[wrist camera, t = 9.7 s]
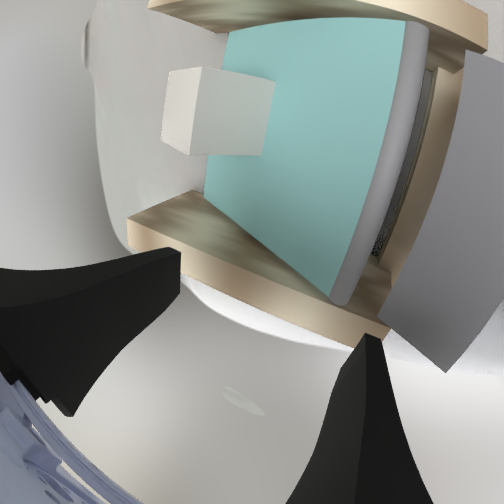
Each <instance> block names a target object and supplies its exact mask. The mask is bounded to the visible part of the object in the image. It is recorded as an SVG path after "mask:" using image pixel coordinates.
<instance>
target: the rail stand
mask: <svg viewBox="0 0 504 504" xmlns="http://www.w3.org/2000/svg"><path fill="white" fill-rule="evenodd" d="M147 9H151V10H154V11H157V12H161V13H164V14H167V15H170V16H173V17H176V18H179V19H182V20H184V21H187V22H190V23H193V24H195V25H198V26H200V27H203V28H205V29H207V30H210V31H212V32H214V33H227V32H232V31H236V30H240V29H245V28H250V27H255V26H260V25H266V24H272V23H278V22H286V21H294V20H304V19H316V18H343V17H352V18H378V19H390V20H400V21H415V22H418V23H421V24H423V25H424V26H426V27H427V28H428V29H429V41H428V50H427V58H426V65H425V69H427V70H430V71H432V72H433V78H432V84H431V89H430V94H429V100H428V104H427V109H426V114H425V118H424V122H423V127H422V131H421V134H420V138H419V142H418V146H417V149H416V153H415V156H414V160H413V163H412V166H411V170H410V173H409V176H408V179H407V182H406V185H405V188H404V191H403V194H402V197H401V200H400V203H399V205H398V208H397V211H396V214H395V216H394V219H393V221H392V224H391V227H390V229H389V232H388V234H387V237H386V239H385V241H384V244H383V246H382V249H381V251H380V253H379V255H378V257H377V256H375V255H372V254H370V256H369V258H368V261H367V263H366V265H365V268H364V270H363V272H362V274H361V277H360V279H359V281H358V283H357V285H356V287H355V290H354V292H353V294H352V296H351V298H350V300H349V302H348V304H347V305H344V306H341V305H337V304H335V303H333V302H332V301H331V300H330V299H329V297H328V296H326V295H325V294H324V293H323V292H322V291H320V290H319V289H318V288H317V287H315V286H314V285H313V284H312V283H310V282H309V281H308V280H307V279H306V278H304V277H303V276H302V275H301V274H299V273H298V272H297V271H296V270H294V269H293V268H292V267H291V266H289V265H288V264H287V263H286V262H284V261H283V260H282V259H281V258H279V257H278V256H277V255H276V254H274V253H273V252H272V251H271V250H269V249H268V248H267V247H266V246H264V245H263V244H262V243H261V242H259V241H258V240H257V239H256V238H254V237H253V236H252V235H251V234H249V233H248V232H247V231H246V230H244V229H243V228H242V227H241V226H239V225H238V224H237V223H235V222H234V221H233V220H232V219H230V218H229V217H228V216H227V215H225V214H224V213H223V212H222V211H220V210H219V209H218V208H216V207H215V206H214V205H213V204H211V203H210V202H209V201H208V200H206V199H205V198H204V197H203V195H204V194H201V193H198V192H195V191H192V190H191V191H189V192H186V193H184V194H181V195H179V196H176V197H174V198H172V199H169V200H167V201H164V202H162V203H160V204H157V205H155V206H153V207H150V208H148V209H146V210H144V211H141V212H139V213H137V214H135V215H132V216H130V217H128V218H127V235H128V246H130V247H132V248H134V249H136V250H138V251H139V252H141V253H142V252H146V251H150V250H154V249H159V248H164V247H171V248H173V249H176V250H178V251H180V252H181V273H183V274H185V275H187V276H189V277H191V278H193V279H195V280H197V281H199V282H201V283H203V284H205V285H208V286H210V287H212V288H214V289H216V290H218V291H220V292H222V293H225V294H227V295H229V296H231V297H233V298H235V299H238V300H240V301H242V302H244V303H246V304H249V305H251V306H253V307H255V308H258V309H260V310H262V311H264V312H267V313H269V314H271V315H274V316H276V317H278V318H281V319H283V320H285V321H288V322H290V323H292V324H295V325H297V326H300V327H302V328H304V329H307V330H309V331H312V332H314V333H317V334H319V335H322V336H324V337H327V338H329V339H332V340H334V341H337V342H339V343H342V344H344V345H347V346H350V347H352V348H355V347H356V346H357V344H358V343H359V341H360V340H361V338H362V337H363V335H364V334H365V333H367V334H370V335H372V336H375V337H377V338H380V339H381V341H383V340H384V338H385V337H386V335H387V334H388V332H389V331H390V329H391V328H390V327H389V326H388V325H387V324H385V323H384V322H383V321H382V320H380V319H379V318H378V317H377V315H378V313H379V311H380V310H381V308H382V306H383V304H384V302H385V301H386V299H387V297H388V295H389V293H390V292H391V290H392V288H393V286H394V284H395V282H396V280H397V278H398V276H399V274H400V272H401V270H402V268H403V266H404V264H405V262H406V260H407V258H408V256H409V254H410V251H411V249H412V247H413V245H414V243H415V240H416V238H417V236H418V233H419V231H420V229H421V226H422V224H423V221H424V219H425V217H426V214H427V211H428V209H429V206H430V204H431V201H432V198H433V195H434V193H435V190H436V187H437V184H438V181H439V178H440V175H441V172H442V168H443V165H444V162H445V158H446V155H447V151H448V148H449V144H450V140H451V136H452V132H453V128H454V124H455V119H456V115H457V110H458V104H459V99H460V93H461V87H462V80H463V72H464V64H465V53H466V50H469V51H472V52H475V53H478V54H481V55H482V54H483V53H485V52H486V51H487V50H488V16H487V14H486V13H485V12H483V11H481V10H479V9H477V8H475V7H474V6H472V5H470V4H468V3H466V2H464V1H462V0H150V1H149V5H148V8H147Z"/></svg>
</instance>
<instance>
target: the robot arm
mask: <svg viewBox="0 0 504 504" xmlns="http://www.w3.org/2000/svg"><path fill="white" fill-rule="evenodd" d="M180 273H181V252H180V251H178V250H176V249H173V248H171V247H164V248H159V249H154V250H150V251H146V252H142V253H138V254H134V255H130V256H127V257H122V258H119V259H114V260H110V261H106V262H101V263H97V264H92V265H87V266H81V267H74V268H66V269H54V270H31V271H30V270H13V269H4V268H0V504H106V503H104V502H103V501H102V500H100V499H99V498H98V497H96V496H95V495H94V494H93V493H91V492H90V491H89V490H88V489H86V488H85V487H84V486H83V485H81V484H80V483H79V482H78V481H77V480H76V479H75V478H74V477H72V476H71V475H70V474H69V473H68V472H67V471H66V470H65V469H64V468H63V467H62V466H61V465H60V464H61V463H62V460H61V458H62V459H63V460H64V461H65V463H66V464H67V465H68V466H69V467H70V468H71V469H72V470H73V471H74V472H75V473H76V474H77V475H78V476H80V477H81V478H82V479H83V480H84V481H85V482H86V483H87V484H88V485H89V486H90V487H92V488H93V489H94V490H95V491H96V492H97V493H98V494H100V495H101V496H102V497H103V498H105V499H106V500H107V501H108V502H109V503H111V504H144V503H142V502H140V501H139V500H138V499H136V498H135V497H134V496H132V495H131V494H129V493H128V492H127V491H125V490H124V489H123V488H121V487H120V486H119V485H117V484H116V483H115V482H114V481H112V480H111V479H110V478H109V477H108V476H106V475H105V474H104V473H103V472H102V471H100V470H99V469H98V468H97V467H96V466H95V465H94V464H93V463H91V462H90V461H89V460H88V459H87V458H86V457H85V456H84V455H83V454H82V453H81V452H80V451H79V450H78V449H77V448H76V447H75V446H74V445H73V444H72V443H71V442H70V441H69V440H68V439H67V438H66V437H65V436H64V435H63V434H62V433H61V431H60V430H59V429H58V428H57V427H56V426H55V425H54V423H53V422H52V421H51V420H50V419H49V417H48V416H47V415H46V414H45V413H44V412H43V410H42V409H41V408H40V406H39V405H38V404H37V402H36V400H37V399H38V398H39V397H41V398H42V400H43V401H44V402H45V403H48V402H49V401H50V400H52V402H53V403H54V404H55V405H56V406H57V408H58V409H59V410H60V411H61V412H62V413H63V414H64V415H65V416H67V417H73V416H74V414H75V412H76V410H77V409H78V407H79V405H80V404H81V402H82V400H83V399H84V397H85V396H86V394H87V393H88V392H89V390H90V389H91V387H92V386H93V384H94V383H95V382H96V380H97V379H98V377H99V376H100V375H101V374H102V373H103V371H104V370H105V369H106V368H107V366H108V365H109V364H110V363H111V362H112V360H113V359H114V358H115V357H116V356H117V355H118V353H119V352H120V351H121V350H122V349H123V348H124V347H125V346H126V345H127V344H128V343H129V342H130V341H132V340H133V339H134V338H135V337H136V336H137V335H138V334H140V333H141V332H142V331H143V330H144V329H145V328H146V327H147V326H149V325H150V324H151V323H152V322H153V321H154V320H155V319H156V318H157V317H159V316H160V315H161V314H162V313H163V312H164V311H165V310H166V309H167V308H168V306H169V305H170V304H171V303H172V302H173V301H174V300H175V298H176V297H177V296H178V295H179V293H180ZM32 424H33V425H34V427H35V428H36V429H37V430H38V432H39V433H40V434H41V435H42V436H41V435H40V434H39V433H38V432H37V431H35V430H34V429H33V428H32ZM59 456H60V457H61V458H60V457H59ZM286 504H433V502H432V500H431V498H430V496H429V494H428V492H427V489H426V487H425V485H424V483H423V481H422V478H421V476H420V474H419V471H418V469H417V466H416V464H415V461H414V459H413V456H412V454H411V451H410V448H409V445H408V442H407V439H406V436H405V433H404V430H403V427H402V423H401V420H400V417H399V412H398V409H397V405H396V401H395V397H394V393H393V389H392V385H391V380H390V376H389V372H388V367H387V363H386V358H385V354H384V350H383V345H382V341H381V339H380V338H377V337H375V336H372V335H370V334H367V333H365V334H364V335H363V337H362V338H361V340H360V341H359V343H358V344H357V346H356V347H355V349H354V350H353V352H352V353H351V355H350V356H349V357H348V359H347V360H346V362H345V363H344V364H343V366H342V367H341V369H340V372H339V375H338V378H337V380H336V382H335V385H334V388H333V390H332V393H331V397H330V400H329V404H328V408H327V411H326V415H325V418H324V421H323V425H322V428H321V431H320V434H319V438H318V441H317V444H316V446H315V449H314V452H313V454H312V456H311V458H310V461H309V463H308V465H307V467H306V469H305V471H304V473H303V475H302V476H301V478H300V480H299V482H298V484H297V485H296V487H295V489H294V491H293V493H292V494H291V496H290V498H289V499H288V501H287V502H286Z"/></svg>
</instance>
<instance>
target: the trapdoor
mask: <svg viewBox="0 0 504 504" xmlns="http://www.w3.org/2000/svg"><path fill="white" fill-rule="evenodd" d="M428 41H429V29H428V28H427V27H426V26H424V25H423V24H421V23H418V22H415V21H400V20H390V19H378V18H352V17H343V18H316V19H304V20H294V21H286V22H278V23H272V24H266V25H260V26H255V27H250V28H245V29H240V30H236V31H232V32H229V36H228V41H227V45H226V50H225V55H224V61H223V66H222V70H226V71H232V72H237V73H242V74H247V75H251V76H255V77H260V78H264V79H268V80H272V81H275V82H276V84H275V89H274V94H273V99H272V104H271V109H270V114H269V119H268V124H267V129H266V134H265V139H264V144H263V149H262V155H261V156H250V155H208V161H207V169H206V177H205V186H204V195H203V197H204V198H205V199H206V200H208V201H209V202H210V203H211V204H213V205H214V206H215V207H216V208H218V209H219V210H220V211H222V212H223V213H224V214H225V215H227V216H228V217H229V218H230V219H232V220H233V221H234V222H235V223H237V224H238V225H239V226H241V227H242V228H243V229H244V230H246V231H247V232H248V233H249V234H251V235H252V236H253V237H254V238H256V239H257V240H258V241H259V242H261V243H262V244H263V245H264V246H266V247H267V248H268V249H269V250H271V251H272V252H273V253H274V254H276V255H277V256H278V257H279V258H281V259H282V260H283V261H284V262H286V263H287V264H288V265H289V266H291V267H292V268H293V269H294V270H296V271H297V272H298V273H299V274H301V275H302V276H303V277H304V278H306V279H307V280H308V281H309V282H310V283H312V284H313V285H314V286H315V287H317V288H318V289H319V290H320V291H322V292H323V293H324V294H325V295H326V296H328V297H329V299H330V300H331V301H332V302H333V303H335V304H337V305H341V306H344V305H347V304H348V302H349V300H350V298H351V296H352V294H353V292H354V290H355V287H356V285H357V283H358V281H359V279H360V277H361V274H362V272H363V270H364V268H365V265H366V263H367V261H368V258H369V256H370V254H371V251H372V249H373V247H374V244H375V242H376V239H377V237H378V234H379V232H380V229H381V227H382V224H383V221H384V219H385V216H386V213H387V211H388V208H389V205H390V202H391V199H392V196H393V193H394V191H395V188H396V184H397V181H398V178H399V175H400V172H401V169H402V165H403V162H404V159H405V155H406V152H407V148H408V145H409V141H410V137H411V133H412V129H413V125H414V121H415V117H416V112H417V108H418V103H419V98H420V93H421V88H422V83H423V77H424V71H425V65H426V58H427V50H428ZM503 298H504V63H502V62H499V61H497V60H494V59H492V58H489V57H487V56H484V55H481V54H478V53H475V52H472V51H469V50H466V53H465V64H464V72H463V80H462V87H461V93H460V99H459V104H458V110H457V115H456V119H455V124H454V128H453V132H452V136H451V140H450V144H449V148H448V151H447V155H446V158H445V162H444V165H443V168H442V172H441V175H440V178H439V181H438V184H437V187H436V190H435V193H434V195H433V198H432V201H431V204H430V206H429V209H428V211H427V214H426V217H425V219H424V221H423V224H422V226H421V229H420V231H419V233H418V236H417V238H416V240H415V243H414V245H413V247H412V249H411V251H410V254H409V256H408V258H407V260H406V262H405V264H404V266H403V268H402V270H401V272H400V274H399V276H398V278H397V280H396V282H395V284H394V286H393V288H392V290H391V292H390V293H389V295H388V297H387V299H386V301H385V302H384V304H383V306H382V308H381V310H380V311H379V313H378V315H377V317H378V318H379V319H380V320H382V321H383V322H384V323H385V324H387V325H388V326H389V327H390V328H392V329H393V330H394V331H395V332H396V333H398V334H399V335H400V336H401V337H403V338H404V339H405V340H406V341H408V342H409V343H410V344H411V345H412V346H414V347H415V348H416V349H417V350H418V351H420V352H421V353H422V354H423V355H425V356H426V357H427V358H428V359H429V360H431V361H432V362H433V363H434V364H435V365H437V366H438V367H439V368H440V369H441V370H442V371H444V372H445V373H446V372H447V371H448V370H449V369H450V368H451V367H452V366H453V364H454V363H455V362H456V361H457V360H458V359H459V358H460V356H461V355H462V354H463V353H464V352H465V350H466V349H467V348H468V347H469V346H470V344H471V343H472V342H473V341H474V339H475V338H476V337H477V335H478V334H479V333H480V331H481V330H482V329H483V327H484V326H485V325H486V323H487V322H488V320H489V319H490V317H491V316H492V315H493V313H494V312H495V310H496V309H497V307H498V306H499V304H500V302H501V301H502V299H503Z"/></svg>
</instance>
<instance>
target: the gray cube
mask: <svg viewBox="0 0 504 504" xmlns="http://www.w3.org/2000/svg"><path fill="white" fill-rule="evenodd" d="M275 84H276V82H275V81H272V80H268V79H264V78H260V77H255V76H251V75H247V74H242V73H237V72H232V71H226V70H221V69H215V68H208V67H195V68H188V69H182V70H176V71H170V72H169V78H168V84H167V91H166V98H165V106H164V114H163V123H162V132H161V141H163V142H165V143H166V144H168V145H170V146H172V147H174V148H176V149H178V150H179V151H181V152H183V153H185V154H187V155H188V156H202V155H250V156H261V155H262V149H263V144H264V139H265V134H266V129H267V124H268V119H269V114H270V109H271V104H272V99H273V94H274V89H275Z"/></svg>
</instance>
